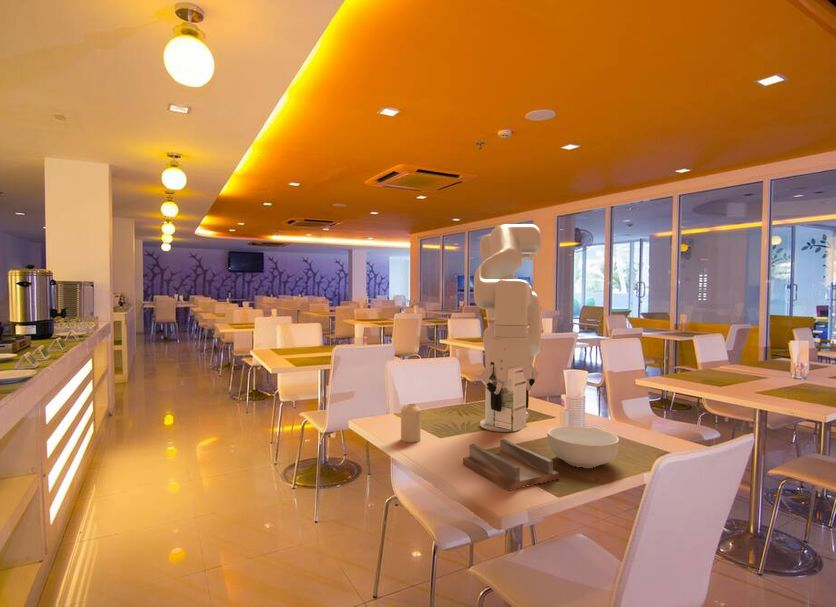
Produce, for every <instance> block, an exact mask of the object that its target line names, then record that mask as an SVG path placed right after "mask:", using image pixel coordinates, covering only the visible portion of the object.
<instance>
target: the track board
mask: <svg viewBox="0 0 836 607" xmlns="http://www.w3.org/2000/svg"><path fill="white" fill-rule="evenodd" d="M468 449H469V453H468V454H469V456H465V457H463V459H462V464H463V465H464V466H465V467H468V468H470V470H472V471H475V472H476V473H478V474H480V475H481V476H483V477H485V478H487V479H489V480H490V481H491V482H493V483H495V484H496V483H497V485H498V486H500V487H501V486H502V487H501V488H503V487H504V488H503V489H505V488H506V489H508V490H509V491H511V490H510V489H513V490H515V489H514V488H518V489H520V488H519V487H522V488H524V487H523V486H527V485H532V484H536V485H539V484H538V483H541V484H544V483H543V482H545V483H548V482H547V481H550V482H553V481H552V480H554V481H557V480H556V479H559V480H560V472H558V471H556V470H554V461H553V459H550V458H548V457H546V456H543V455H541V454H538V453H536V452H534V451H532V450H530V449H527V448H525V447H523V446H521V445H518V444H516V443H514V442H513V441H509V440H508V439H505V438H502V439H500V440H499V451H496V452H490V451H489V450H488V449H487V450H486V449H484V448H483V447H480V446H479V445H477V444H474V443H471V444H469V448H468ZM532 486H533V485H532ZM527 487H528V486H527ZM506 489H505V490H506ZM508 490H507V491H508Z"/></svg>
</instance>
